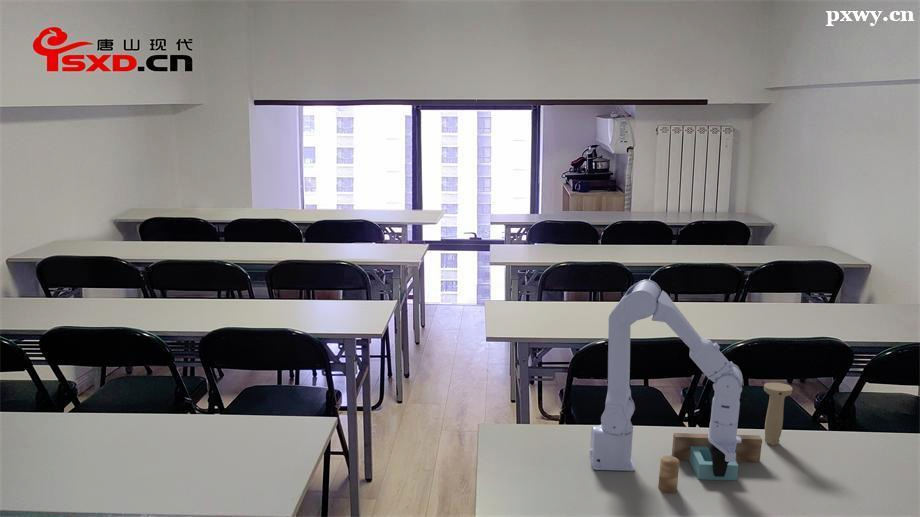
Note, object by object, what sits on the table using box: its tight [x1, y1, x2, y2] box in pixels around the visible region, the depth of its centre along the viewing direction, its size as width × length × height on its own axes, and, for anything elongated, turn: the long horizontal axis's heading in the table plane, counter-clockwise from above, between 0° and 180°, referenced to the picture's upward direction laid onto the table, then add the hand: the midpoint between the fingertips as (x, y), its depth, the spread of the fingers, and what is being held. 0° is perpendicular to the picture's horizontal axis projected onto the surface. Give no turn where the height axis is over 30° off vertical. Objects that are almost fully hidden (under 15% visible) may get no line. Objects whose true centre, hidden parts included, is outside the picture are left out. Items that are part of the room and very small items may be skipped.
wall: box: [671, 432, 763, 463], centre depth 191 cm, size 20×2×6 cm, turn 88°
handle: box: [763, 382, 793, 447], centre depth 198 cm, size 5×6×15 cm
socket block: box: [688, 446, 739, 481], centre depth 186 cm, size 9×9×4 cm
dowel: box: [657, 455, 680, 494], centre depth 178 cm, size 4×4×7 cm
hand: (718, 475), depth 181 cm, fingers closed, pressing on socket block
